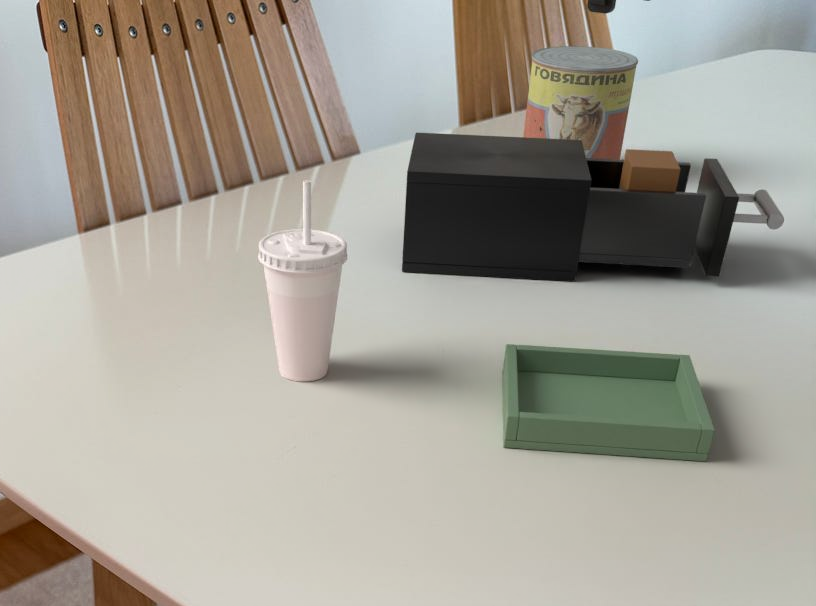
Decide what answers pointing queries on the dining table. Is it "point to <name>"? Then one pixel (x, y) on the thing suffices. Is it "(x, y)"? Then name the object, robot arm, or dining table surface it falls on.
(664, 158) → the block
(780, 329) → the dining table surface
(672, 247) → the pull-out drawer box
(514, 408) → the tray
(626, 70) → the canned food
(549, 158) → the black box
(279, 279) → the smoothie
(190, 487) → the dining table surface
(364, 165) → the dining table surface
